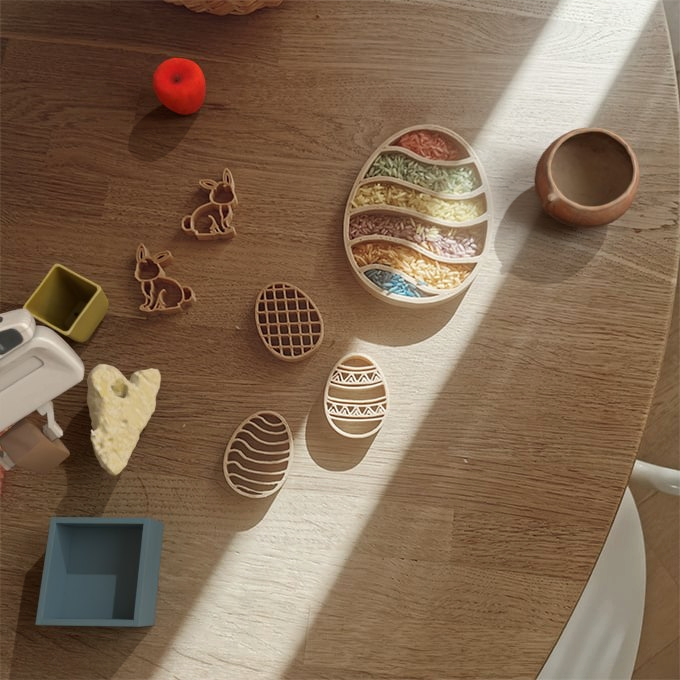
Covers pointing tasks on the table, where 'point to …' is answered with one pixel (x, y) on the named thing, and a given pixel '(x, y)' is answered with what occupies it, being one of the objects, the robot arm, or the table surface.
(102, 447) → the cheese
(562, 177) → the bowl
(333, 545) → the table surface
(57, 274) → the flower pot
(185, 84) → the apple
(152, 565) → the tub
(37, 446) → the wooden block
